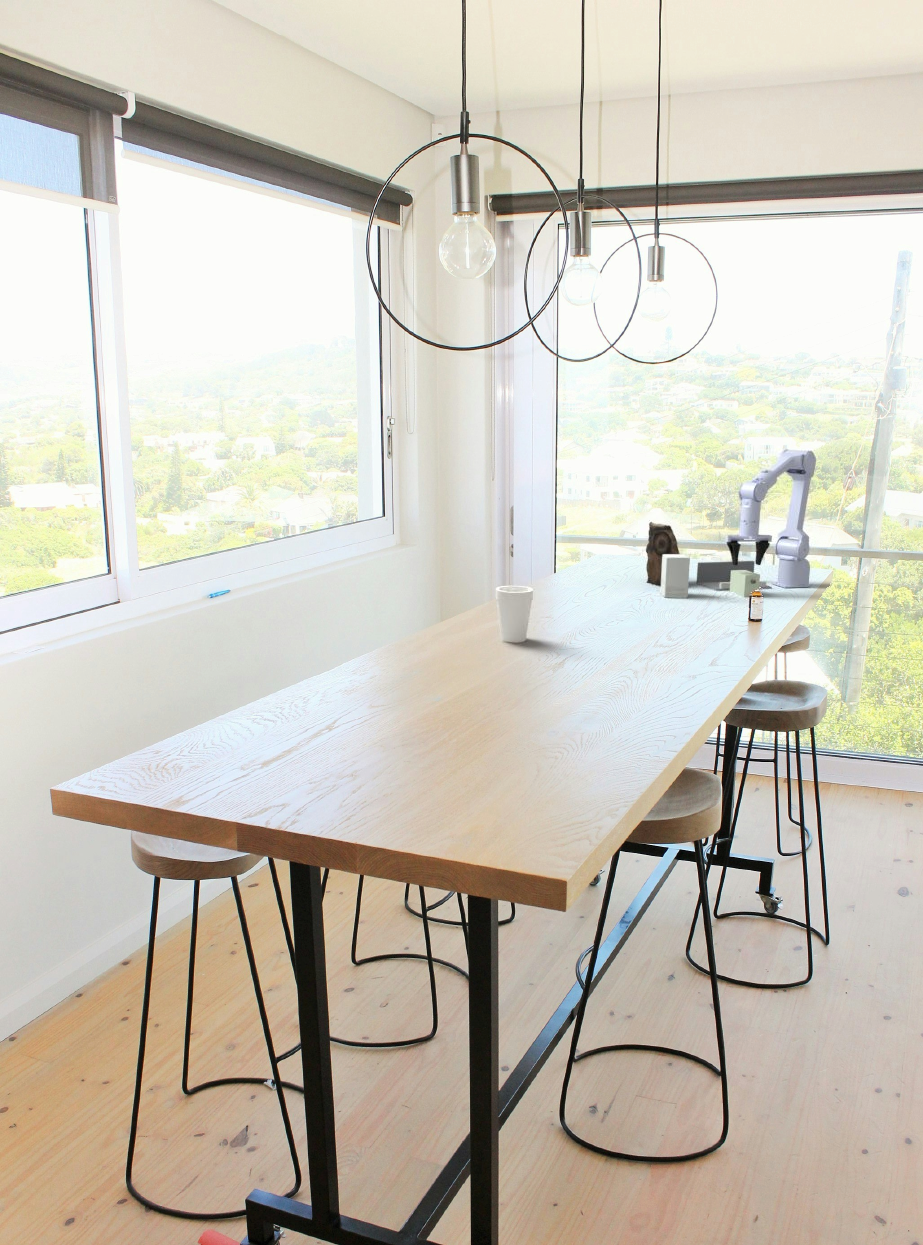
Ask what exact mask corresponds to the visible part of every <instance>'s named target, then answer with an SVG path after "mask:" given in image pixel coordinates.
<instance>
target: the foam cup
mask: <svg viewBox="0 0 923 1245" xmlns="http://www.w3.org/2000/svg"><path fill="white" fill-rule="evenodd" d="M533 599H534V588H532V587H530V586H525V585H502V586H498V587H495V600H496V606H497V615H498V624H499V632H500V633H499V634H500V640H501V641H502V642H504V643H505V642H506V643H523V642H525V641H527V640H526V638H527V633H528V627H529V622H530V621H529V620H530V615H531V609H532V601H533Z"/></svg>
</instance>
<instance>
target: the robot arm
mask: <svg viewBox="0 0 923 1245" xmlns="http://www.w3.org/2000/svg"><path fill="white" fill-rule="evenodd" d="M816 463H817V458H816V456H815V453H814V451H813V450H795V449H788V448H786V449H783V450H782V452H780V453H779V455H778V459H777V461H776V462H775V463H774V464H773V465H772V466H771V467H770V468H765V469H760V472H758V474H756V475H755V476H754V477H753V478H752V479H751V480H750V481H745V482H743V483H742V484H741V485H740V487H739V490H738V497H739V505H740V507H741V508H740V510H741V511H740V522H739V534H725V537H724V538H725V539H724V541H725V542H726V545H727V547H728V550H729V552H730V556H731V557H730V558H731V561H732V563H733V565H738V561H739V554H740V549H741V547H742V546H741V544H740V543H739V542H742V543H743V542H748V543H750V542H753V543H755V560H754V561H755V565H757V566H761V565H762V562H763V558H764V555H766V552H767V551H768V549H769V547H770V545H771V544H770V543H772V542H773V535H770V534H759V532H760V521H761V511H762V510H761V509H762V501H764V500H765V498H766V496H767V493H768V491H769V490H770V489H771V488H772V487H773V486H774V485H776V484H777V482H778V477H780V476H782V474H784V473H786V474H787V475H788V476H790V477H791V478H792V480H793V483H792V489H791V495H790V501H789V505H788V506H789V507H788V512H787V519H786V526H785V528H784V529H783V530H781V531H780V532H779V533H777V538H776V541H775V543H774V546H773V548H774V550H773V551H774V553H775V555H776V556H777V559H778V571H777V572H778V573H777V581H775V582H773V581H772V582H771V584H772V585H775V586H778V587H781V588H785V589H788V588H792V589H793V588H810V587H811V585H810V575H811V574H810V573H811V572H810V571H811V565H810V561H809V560H808V559H806V557H808V555H809V553H810V543H809V542H810V536H809V535H808V534H807V533H806V532H805V531H804V530H803V529H804V522H805V517H806V512H807V503H808V497H809V492H810V486H811V481H812V478H813V477H814V475H815V470H816Z"/></svg>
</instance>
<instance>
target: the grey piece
mask: <svg viewBox="0 0 923 1245" xmlns="http://www.w3.org/2000/svg"><path fill="white" fill-rule="evenodd" d="M755 564H756V562H755V560H738V565H733V563H732V560H730V561H728V560H727V561H705V562H703V561H702V562H701V561H700V562H697V569H696V584H697V583H699V584H701V585H700V586H702V585H703V586H702V587H705V586H706V587H705V588H707V587H708V589H710V588H711V589H710V590H713V589H714V590H713V591H715V590H720V591H730V578H731V570H747V571H750V572H753V573H755ZM699 584H698V585H699ZM759 587H761V588H763V589H772V586H770V585H768V584H767V581H766V580H760V583H759ZM763 589H762V590H763Z"/></svg>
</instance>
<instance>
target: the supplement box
mask: <svg viewBox="0 0 923 1245" xmlns="http://www.w3.org/2000/svg"><path fill="white" fill-rule="evenodd" d="M690 559H691V558H690V556H688V555H686V554H684V553H683V554H682V553H681V554H663V555H662V573H661V586H660V590H659V591H660V594H661V596H662V597H664V598H665V599H666V598H667V599H669V598H671V599H672V598H673V599H687V598H688V597H689V578H690V563H691V562H690V561H691V560H690Z"/></svg>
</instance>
